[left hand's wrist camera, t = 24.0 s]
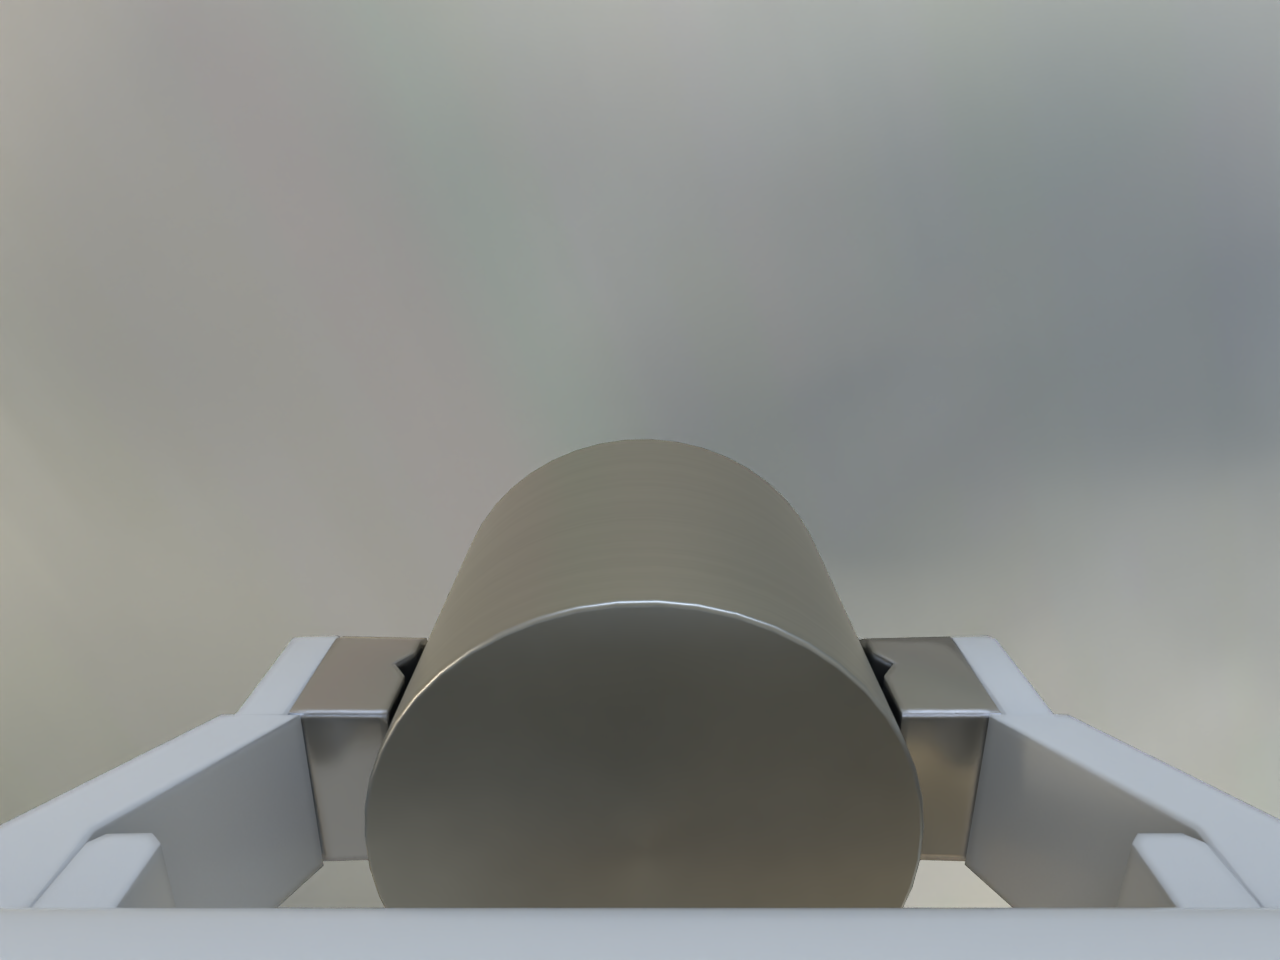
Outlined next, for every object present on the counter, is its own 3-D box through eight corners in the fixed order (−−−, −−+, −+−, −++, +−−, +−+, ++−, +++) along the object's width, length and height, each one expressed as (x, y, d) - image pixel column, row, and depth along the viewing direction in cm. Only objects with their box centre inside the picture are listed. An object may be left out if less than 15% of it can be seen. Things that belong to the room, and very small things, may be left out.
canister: (543, 802, 13) (497, 1098, 9) (397, 512, 11) (259, 707, 7) (867, 705, 12) (980, 974, 8) (763, 384, 11) (839, 520, 7)
